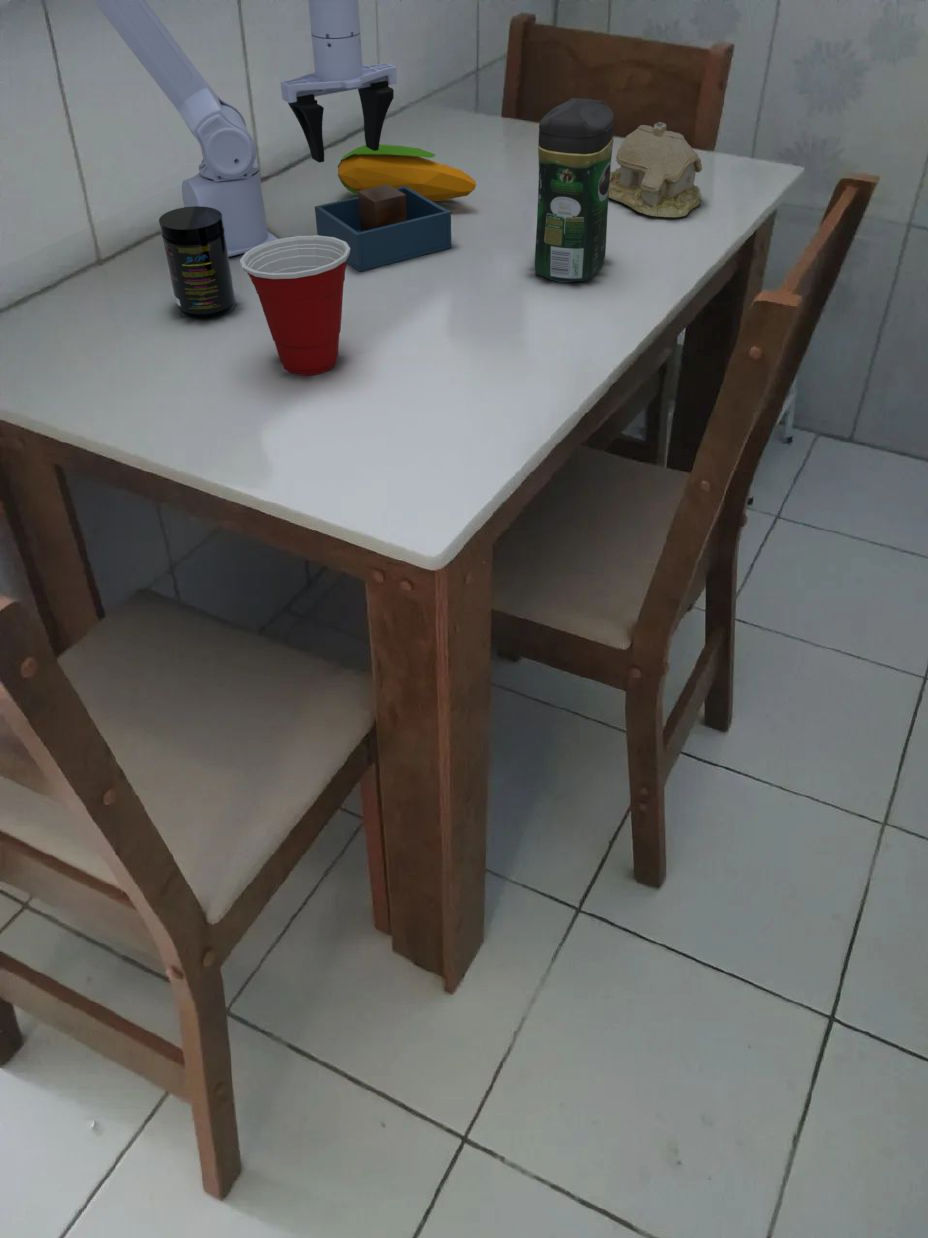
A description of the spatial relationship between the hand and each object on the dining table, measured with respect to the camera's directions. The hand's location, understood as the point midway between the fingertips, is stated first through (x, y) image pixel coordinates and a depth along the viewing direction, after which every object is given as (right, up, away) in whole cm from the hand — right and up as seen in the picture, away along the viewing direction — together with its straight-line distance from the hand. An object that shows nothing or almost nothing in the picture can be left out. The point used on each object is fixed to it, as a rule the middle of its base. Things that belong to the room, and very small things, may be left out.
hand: (345, 154), depth 133 cm
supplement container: (-15, -23, -11) cm, 29 cm away
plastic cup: (-2, -31, -21) cm, 38 cm away
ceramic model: (+40, -1, +13) cm, 43 cm away
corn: (+7, -1, +13) cm, 15 cm away
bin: (+5, -11, +2) cm, 12 cm away
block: (+5, -10, +2) cm, 11 cm away
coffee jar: (+27, -16, -4) cm, 32 cm away
